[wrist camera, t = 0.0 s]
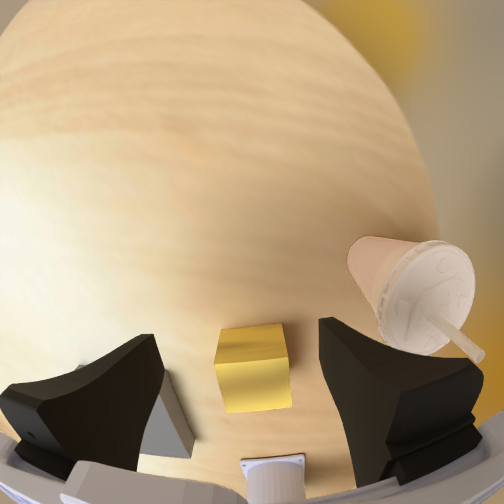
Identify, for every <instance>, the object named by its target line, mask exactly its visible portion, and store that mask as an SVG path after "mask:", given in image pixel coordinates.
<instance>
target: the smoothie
mask: <svg viewBox="0 0 504 504" xmlns="http://www.w3.org/2000/svg"><path fill="white" fill-rule="evenodd" d="M347 266H348V269H349V271H350V273H351V275H352V276H353V278H354V279H355V281H356V283H357V284H358V286H359V287H360V289H361V291H362V292H363V294H364V296H365V297H366V299H367V301H368V302H369V304H370V306H371V307H372V309H373V311H374V313H375V315H376V316H377V323H378V327H379V331H380V334H381V336H382V337H383V339H384V340H385V342H386V343H387V344H388V345H390V346H391V347H393V348H396V349H398V350H402V351H405V352H410V353H414V354H419V355H424V356H427V355H429V354H432V353H434V352H435V351H437V350H439V349H440V348H442V347H443V346H444V345H446V344H447V343H448V342H449V341H450V340H452V341H453V342H454V343H455V344H456V345H457V346H458V347H459V348H461V349H462V350H463V351H464V352H465V353H466V354H467V355H468V356H469V357H470V358H471V359H473V360H474V361H475V362H476V363H479V362H480V361H481V360H482V359H483V357H484V355H485V352H484V351H483V350H482V349H481V348H479V346H477V345H476V344H475V343H474V342H473V341H471V340H470V339H469V338H468V337H466V336H465V335H464V334H463V333H462V332H460V331H459V330H460V328H461V327H462V325H463V323H464V322H465V320H466V318H467V316H468V313H469V311H470V309H471V306H472V302H473V299H474V293H475V274H474V269H473V266H472V263H471V261H470V259H469V257H468V256H467V255H466V253H465V252H464V251H462V250H461V249H460V248H458V247H456V246H453V245H452V244H450V243H448V242H447V241H441V240H431V241H426V242H422V243H417V242H410V241H403V240H396V239H389V238H382V237H375V236H365V237H362V238H360V239H358V240H357V241H356V242H355V243H354V244H353V245H352V246H351V248H350V250H349V252H348V255H347Z"/></svg>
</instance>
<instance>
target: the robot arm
mask: <svg viewBox="0 0 504 504" xmlns="http://www.w3.org/2000/svg"><path fill="white" fill-rule="evenodd" d="M319 360H320V364H321V368H322V371H323V375H324V378H325V380H326V383H327V385H328V388H329V390H330V392H331V395H332V397H333V399H334V402H335V404H336V406H337V409H338V411H339V414H340V417H341V419H342V422H343V426H344V430H345V434H346V438H347V442H348V446H349V450H350V454H351V459H352V464H353V469H354V474H355V480H356V486H357V489H353V490H349V491H345V492H341V493H336V494H331V495H327V496H321V497H316V498H310V499H306V496H305V489H304V474H305V456H304V455H303V454H299V455H292V456H283V457H274V458H263V459H248V460H241V461H240V466H241V469H242V471H243V474H244V477H245V480H246V482H247V486H246V499H244V498H243V497H242V496H240V495H239V494H238V493H237V492H235V491H234V490H232V489H229V488H226V487H223V486H220V485H217V484H214V483H209V482H202V481H196V480H190V479H181V478H172V477H164V476H157V475H150V474H144V473H139V472H137V465H138V459H139V453H140V448H141V443H142V439H143V435H144V431H145V428H146V425H147V422H148V420H149V417H150V415H151V412H152V410H153V407H154V405H155V402H156V400H157V397H158V395H159V392H160V390H161V387H162V383H163V379H164V374H165V368H164V365H163V362H162V359H161V356H160V353H159V350H158V347H157V344H156V341H155V338H154V334H141V335H139V336H137V337H135V338H133V339H131V340H130V341H128V342H126V343H125V344H123V345H121V346H120V347H118V348H117V349H115V350H113V351H112V352H110V353H108V354H107V355H105V356H103V357H101V358H100V359H98V360H96V361H94V362H92V363H90V364H88V365H86V366H84V367H82V368H80V369H77V370H75V371H72V372H70V373H67V374H64V375H61V376H57V377H54V378H50V379H46V380H41V381H36V382H28V383H17V384H11V385H9V386H8V387H7V388H6V389H5V390H4V392H3V393H2V394H1V395H0V409H1V411H2V413H3V414H4V416H5V417H6V419H7V420H8V422H9V423H10V424H11V426H12V427H13V429H14V430H15V431H16V433H17V434H18V435H19V436H20V438H21V441H20V442H19V443H18V442H17V441H16V440H14V439H13V438H11V437H10V436H8V435H6V434H4V433H3V432H1V431H0V489H1V490H2V491H4V492H5V493H6V494H7V495H8V496H9V497H10V498H11V499H13V500H14V501H16V502H17V503H18V504H481V503H483V502H484V501H486V500H487V499H488V498H489V497H491V496H492V495H494V494H495V493H496V492H497V491H499V490H500V489H501V488H502V487H503V486H504V409H502V410H501V411H499V412H498V413H497V414H495V415H494V416H492V417H491V418H489V419H488V420H486V421H485V422H484V423H483V424H481V425H480V426H479V427H478V429H476V427H475V426H474V425H473V423H474V421H475V417H474V415H473V414H472V413H471V411H472V409H473V407H474V405H475V403H476V401H477V398H478V397H479V394H480V392H481V389H482V386H483V379H484V376H483V373H482V371H481V370H480V369H479V368H478V367H477V366H476V365H475V364H474V363H473V362H472V361H471V360H469V359H468V358H441V357H431V356H424V355H419V354H414V353H410V352H405V351H402V350H398V349H396V348H393V347H390V346H387V345H384V344H382V343H379V342H377V341H375V340H373V339H371V338H369V337H367V336H365V335H363V334H361V333H359V332H358V331H356V330H354V329H352V328H351V327H349V326H347V325H346V324H344V323H343V322H341V321H339V320H338V319H336V318H334V317H328V318H321V319H319Z"/></svg>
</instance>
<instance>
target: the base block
mask: <svg viewBox="0 0 504 504" xmlns="http://www.w3.org/2000/svg"><path fill="white" fill-rule="evenodd" d="M82 367H84V366H83V365H79V366H78V367H77V368H76V369H75V370H77V369H80V368H82ZM75 370H74V371H75ZM194 441H195V438H194V436H193V434H192V432H191V429H190V427H189V425H188V423H187V420H186V418H185V416H184V413H183V411H182V408H181V406H180V404H179V401H178V399H177V396H176V394H175V391H174V388H173V386H172V383H171V380H170V378H169V375H168V372H167V370H165V374H164V379H163V383H162V387H161V390H160V392H159V395H158V397H157V400H156V402H155V405H154V407H153V410H152V412H151V415H150V417H149V420H148V422H147V425H146V428H145V431H144V435H143V439H142V443H141V448H140V453H142V454H149V455H156V456H165V457H175V458H189V459H191V455H192V451H193V446H194Z"/></svg>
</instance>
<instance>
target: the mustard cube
mask: <svg viewBox="0 0 504 504" xmlns="http://www.w3.org/2000/svg"><path fill="white" fill-rule="evenodd" d="M214 367H215V371H216V375H217V379H218V383H219V386H220V390H221V394H222V397H223V401H224V405H225V408H226V412H227V413H232V412H249V411H261V410H271V409H280V408H287V407H292V401H291V386H290V373H289V360H288V353H287V348H286V343H285V338H284V333H283V328H282V323H277V324H269V325H261V326H252V327H243V328H232V329H222V330H221V332H220V337H219V341H218V346H217V351H216V356H215V360H214Z"/></svg>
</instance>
